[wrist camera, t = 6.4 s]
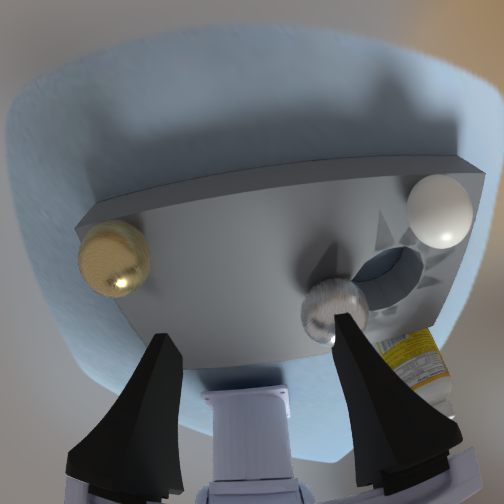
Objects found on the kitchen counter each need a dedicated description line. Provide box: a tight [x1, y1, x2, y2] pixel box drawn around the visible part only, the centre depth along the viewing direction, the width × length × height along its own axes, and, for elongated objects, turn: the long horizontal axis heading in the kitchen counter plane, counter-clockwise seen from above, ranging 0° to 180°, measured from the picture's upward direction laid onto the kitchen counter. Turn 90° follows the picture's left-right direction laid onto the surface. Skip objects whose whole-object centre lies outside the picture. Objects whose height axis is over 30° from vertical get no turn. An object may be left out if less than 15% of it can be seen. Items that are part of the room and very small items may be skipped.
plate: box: [74, 155, 486, 370], centre depth 14 cm, size 12×20×2 cm, turn 98°
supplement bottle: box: [372, 328, 455, 419], centre depth 17 cm, size 5×5×10 cm
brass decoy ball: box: [78, 220, 151, 298], centre depth 10 cm, size 3×3×3 cm
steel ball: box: [301, 278, 369, 347], centre depth 12 cm, size 3×3×3 cm
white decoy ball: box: [407, 174, 473, 249], centre depth 9 cm, size 3×3×3 cm
